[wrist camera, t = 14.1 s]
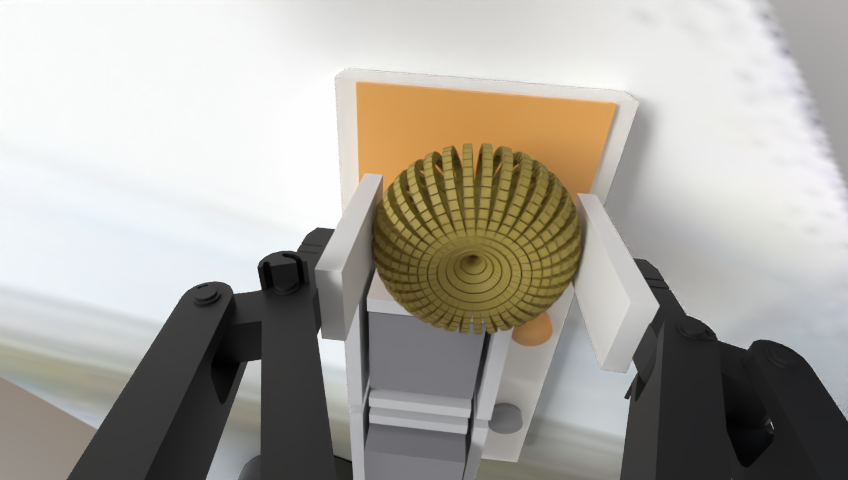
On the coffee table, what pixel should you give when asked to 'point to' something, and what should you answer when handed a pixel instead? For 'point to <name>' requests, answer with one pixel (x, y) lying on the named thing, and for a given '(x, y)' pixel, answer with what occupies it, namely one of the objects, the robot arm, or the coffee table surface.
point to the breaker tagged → (422, 356)
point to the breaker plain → (413, 454)
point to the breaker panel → (522, 132)
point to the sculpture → (476, 239)
